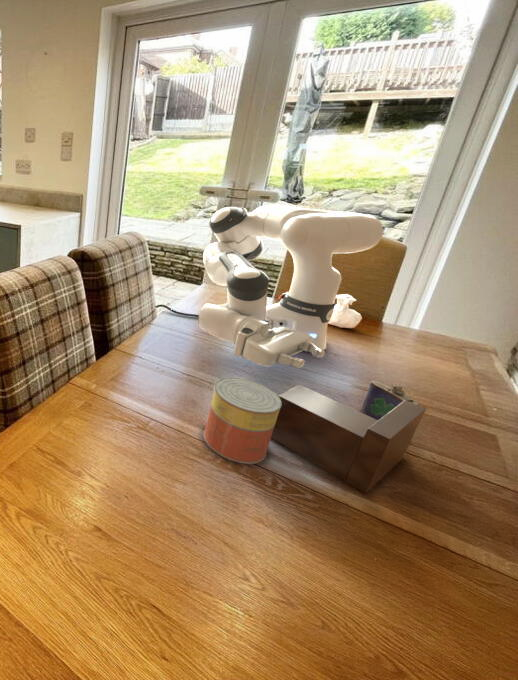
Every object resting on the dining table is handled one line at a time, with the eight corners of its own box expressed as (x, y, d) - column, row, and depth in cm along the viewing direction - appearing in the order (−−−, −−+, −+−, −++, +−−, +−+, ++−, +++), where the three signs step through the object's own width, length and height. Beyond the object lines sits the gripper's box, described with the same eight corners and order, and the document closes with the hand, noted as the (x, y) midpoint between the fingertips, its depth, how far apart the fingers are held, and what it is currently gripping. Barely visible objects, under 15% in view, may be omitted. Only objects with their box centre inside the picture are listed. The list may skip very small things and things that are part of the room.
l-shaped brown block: (265, 435, 82) (280, 387, 78) (305, 411, 90) (320, 365, 85) (365, 493, 69) (390, 439, 64) (401, 459, 76) (426, 408, 72)
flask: (354, 414, 89) (371, 373, 85) (365, 413, 89) (383, 372, 85) (397, 443, 80) (417, 399, 76) (409, 441, 81) (430, 398, 77)
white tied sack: (356, 335, 130) (371, 305, 130) (355, 327, 125) (371, 296, 125) (313, 323, 139) (327, 295, 139) (311, 315, 134) (325, 286, 134)
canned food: (258, 431, 83) (273, 383, 79) (272, 470, 74) (289, 418, 69) (201, 419, 87) (211, 373, 82) (206, 455, 77) (219, 404, 72)
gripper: (274, 337, 111) (330, 359, 100) (229, 356, 101) (286, 382, 90) (279, 317, 108) (338, 337, 97) (235, 334, 99) (294, 358, 88)
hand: (313, 359), depth 94 cm, fingers open, 8 cm apart
